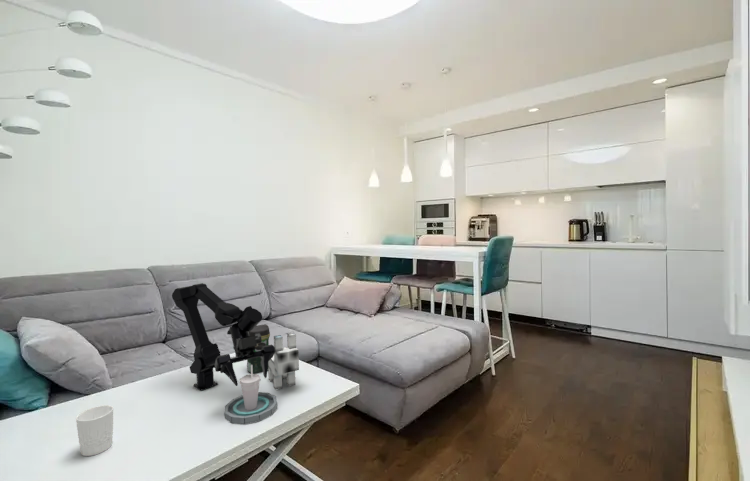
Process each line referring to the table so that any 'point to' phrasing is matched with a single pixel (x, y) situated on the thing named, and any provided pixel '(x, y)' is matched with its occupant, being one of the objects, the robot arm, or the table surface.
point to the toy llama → (284, 361)
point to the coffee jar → (258, 347)
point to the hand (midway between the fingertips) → (251, 381)
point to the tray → (240, 415)
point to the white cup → (95, 430)
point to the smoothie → (250, 389)
